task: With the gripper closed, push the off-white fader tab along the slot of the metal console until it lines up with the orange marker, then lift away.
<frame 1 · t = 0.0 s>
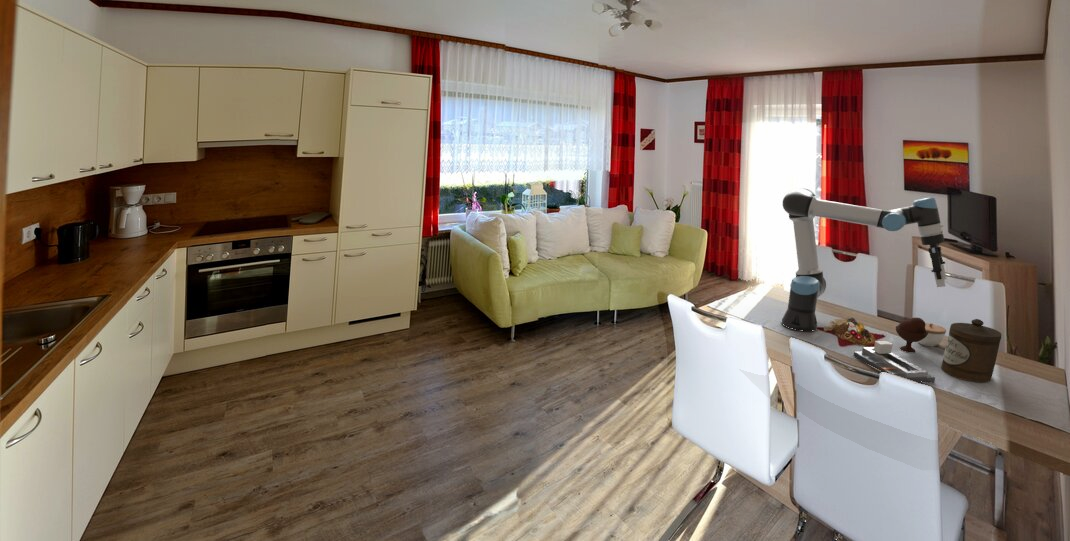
hand: (942, 283, 210), 28 cm above the table, tool tilted 20°, fingers open, 13 cm apart
wooden container: (965, 374, 190), on the table
ice cream bowl: (907, 350, 211), on the table
lidded jar: (926, 344, 218), on the table
fader console: (891, 368, 194), on the table
fader knob: (882, 349, 199), point 5 cm above the table, slide at -6.0 cm
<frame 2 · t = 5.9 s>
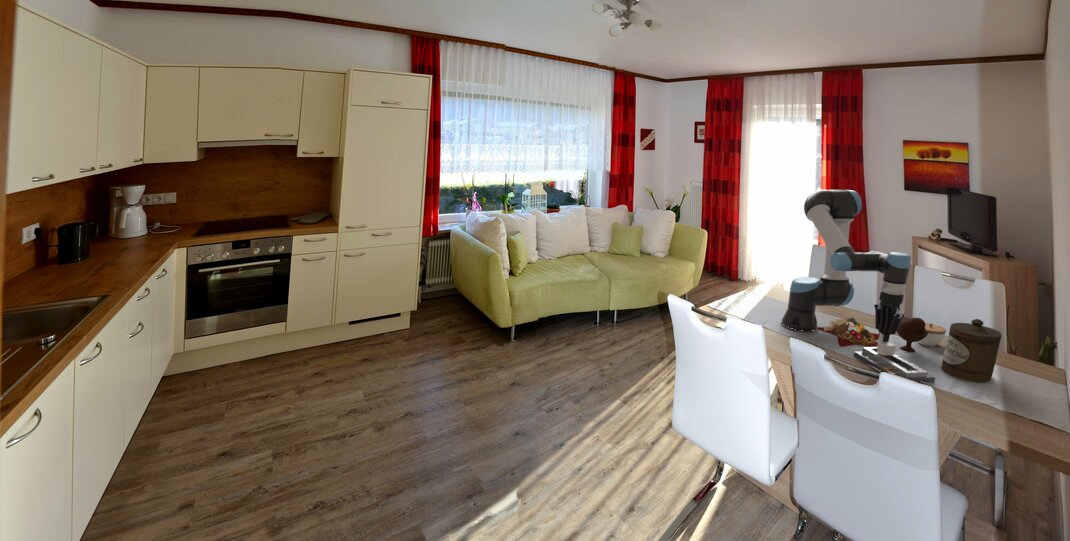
hand: (881, 348, 199), 6 cm above the table, tool pointing down, fingers closed
fader knob: (885, 351, 197), point 5 cm above the table, slide at -4.4 cm, touching gripper
everything else where it was.
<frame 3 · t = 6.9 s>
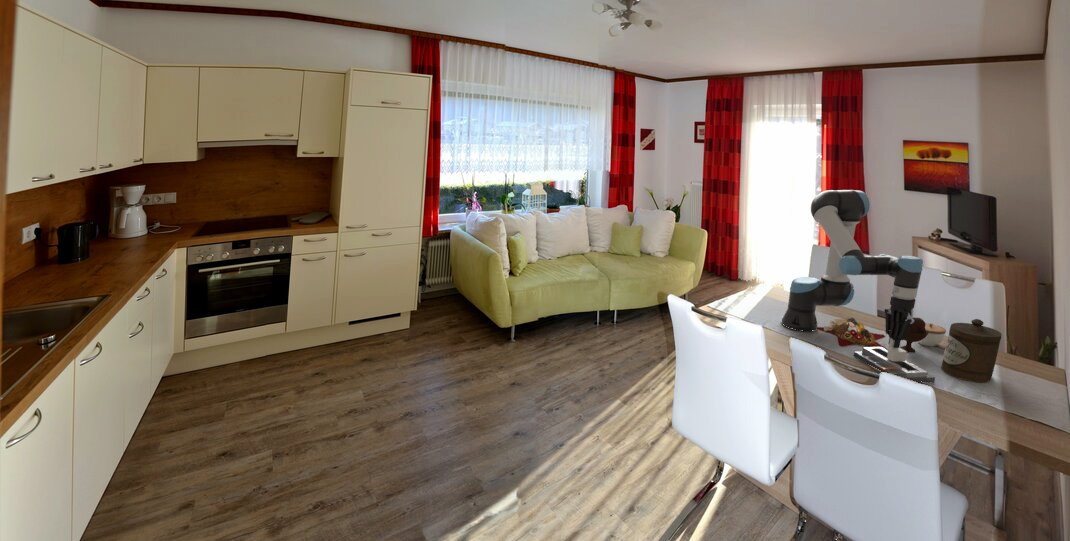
hand: (892, 354, 194), 6 cm above the table, tool pointing down, fingers closed
fader knob: (896, 357, 192), point 5 cm above the table, slide at 1.1 cm, touching gripper
everything else where it was.
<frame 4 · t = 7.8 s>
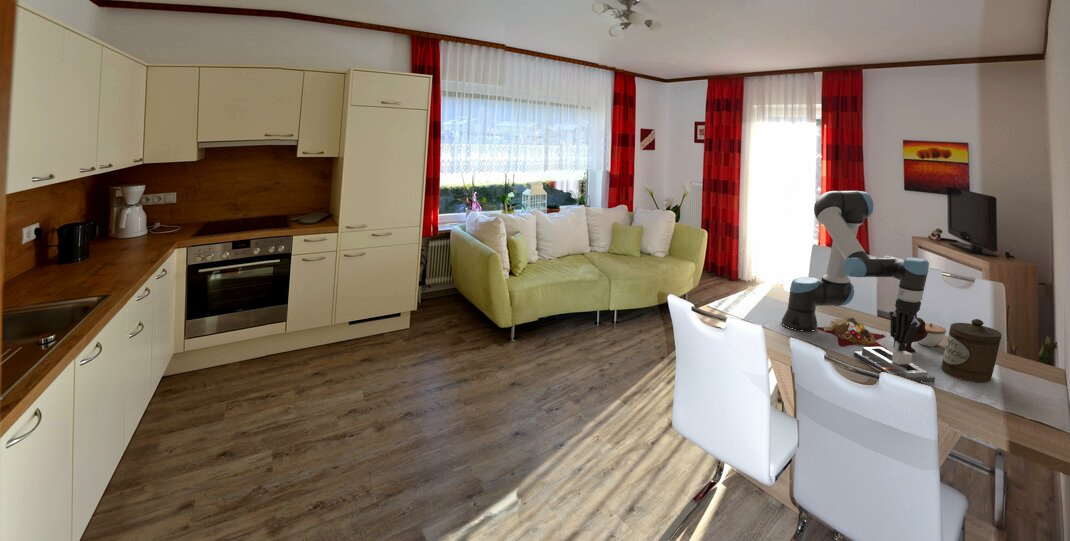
hand: (896, 357, 191), 5 cm above the table, tool pointing down, fingers closed
fader knob: (901, 360, 189), point 5 cm above the table, slide at 3.7 cm, touching gripper
everything else where it was.
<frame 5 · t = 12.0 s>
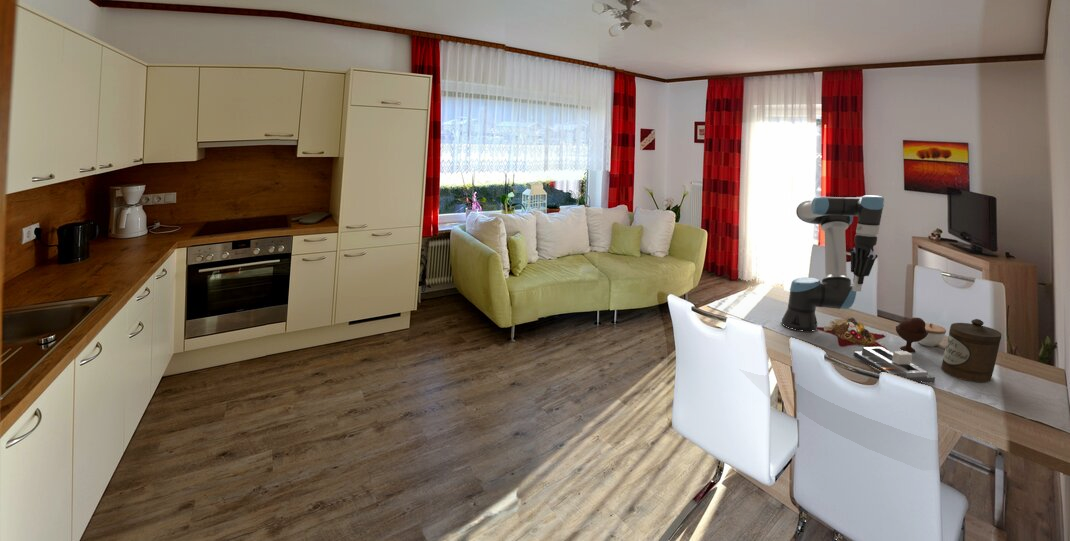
hand: (856, 290, 204), 26 cm above the table, tool pointing down, fingers closed
fader knob: (901, 360, 189), point 5 cm above the table, slide at 3.7 cm
everything else where it was.
at the end: fader knob slide at 3.7 cm; fader knob touching nothing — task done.
